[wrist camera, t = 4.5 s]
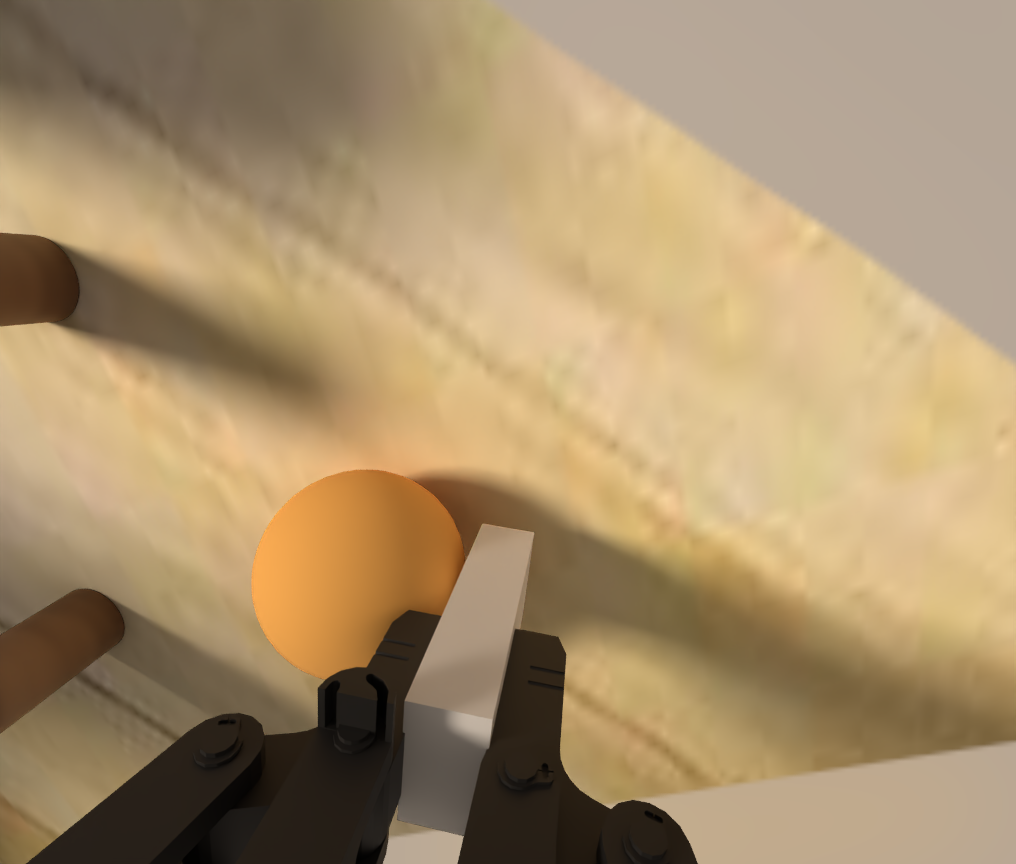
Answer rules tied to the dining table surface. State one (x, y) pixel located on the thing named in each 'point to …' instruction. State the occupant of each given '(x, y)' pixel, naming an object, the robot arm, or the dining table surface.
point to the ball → (352, 567)
